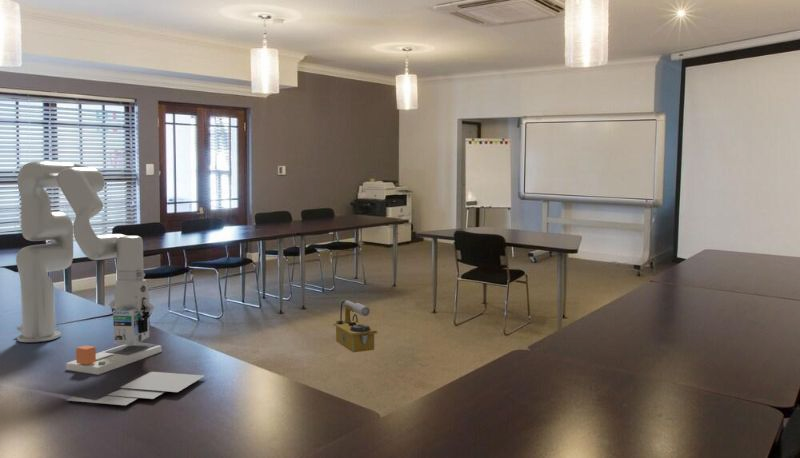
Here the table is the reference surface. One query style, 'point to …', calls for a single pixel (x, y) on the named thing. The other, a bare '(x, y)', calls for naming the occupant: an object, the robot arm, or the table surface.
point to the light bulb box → (127, 327)
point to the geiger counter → (354, 329)
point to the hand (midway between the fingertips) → (132, 330)
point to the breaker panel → (115, 358)
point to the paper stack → (145, 388)
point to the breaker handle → (85, 355)
